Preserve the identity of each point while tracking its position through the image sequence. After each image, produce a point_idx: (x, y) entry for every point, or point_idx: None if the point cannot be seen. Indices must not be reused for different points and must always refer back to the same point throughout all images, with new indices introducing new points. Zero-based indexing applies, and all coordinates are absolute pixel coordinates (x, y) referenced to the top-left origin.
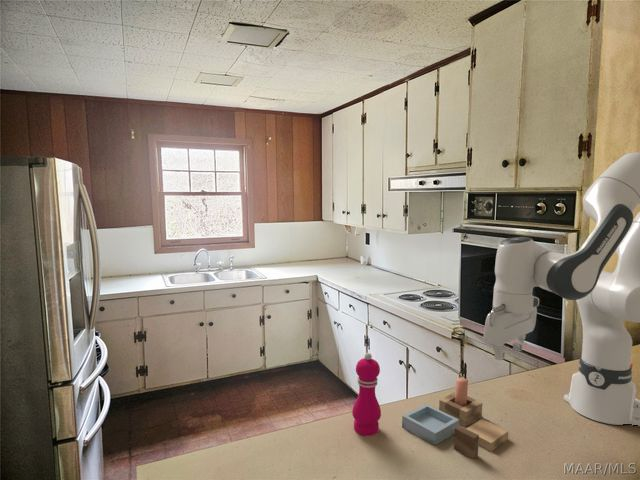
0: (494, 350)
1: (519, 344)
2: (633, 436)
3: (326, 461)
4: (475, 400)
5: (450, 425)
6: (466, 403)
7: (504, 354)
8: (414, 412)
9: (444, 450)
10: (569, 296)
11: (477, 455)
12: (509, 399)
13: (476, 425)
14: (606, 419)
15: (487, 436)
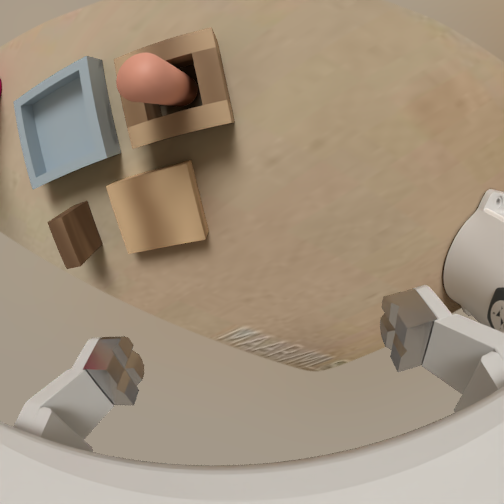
0: (57, 381)
1: (421, 356)
2: None
3: None
4: (220, 101)
5: (76, 169)
6: (177, 102)
7: (135, 395)
8: (37, 93)
9: (56, 202)
10: None
11: (101, 243)
12: (397, 104)
13: (146, 183)
14: (449, 291)
15: (137, 232)
